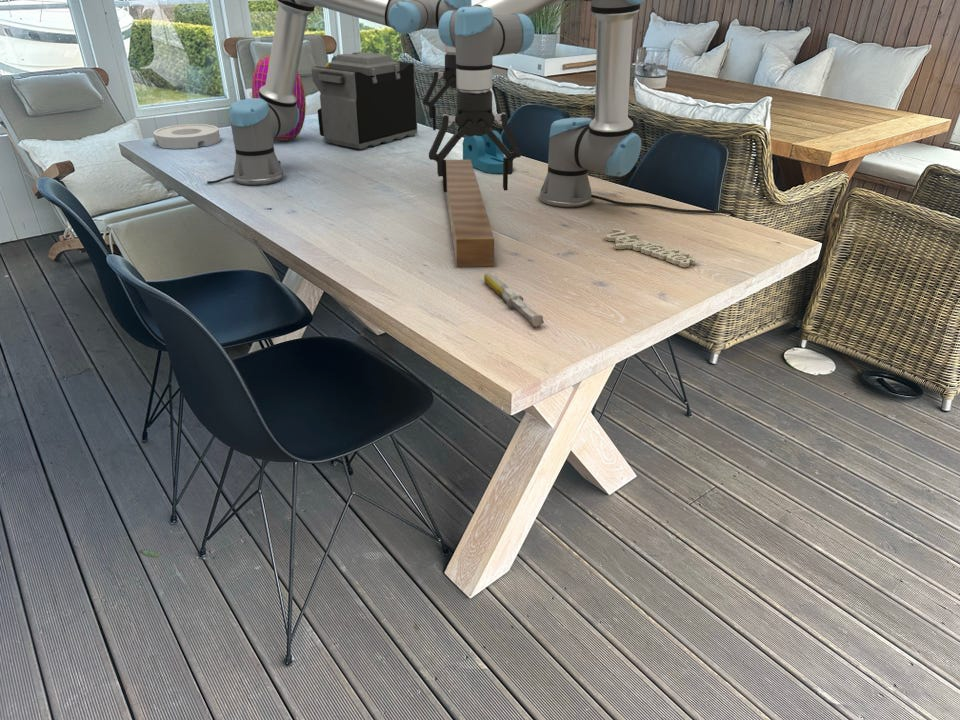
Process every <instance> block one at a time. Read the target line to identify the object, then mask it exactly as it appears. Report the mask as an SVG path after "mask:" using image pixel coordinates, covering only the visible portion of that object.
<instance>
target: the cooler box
mask: <svg viewBox="0 0 960 720" xmlns="http://www.w3.org/2000/svg"><path fill="white" fill-rule="evenodd" d="M335 56H336V58H335V60H334V61H332V62H331V61H330V62H328V63H329V68H326V66H325V67H324V66H312V67H311V77H312V83H314V85H315V87H316V89H317V90H318V92H319V101H320V108H319V109H317V119H318V120H317V121H318V128H319V136H321V137H323V139H324V142H325V143H328V144H332V145H336V146H337V145H338V146H342V147H347V148H351V149H356V150H365V149H367V148H368V147H370V146H371V147H376V146H379V145H380V144H381V143H384V144H387V143H391V142H393V141H394V140H401V139H402V140H403V139H404V138H405V137H414V136H415V135H416V134H417V133H418V108H417V107H418V103H417V88H416V73H415V70H416V69H415V63H414V62H408V61H400V60H394V59H393V57H392V55H391V54H384V53H374V52H365V51H356V52H352V53H341V54H336V55H335Z"/></svg>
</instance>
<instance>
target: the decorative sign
mask: <svg viewBox="0 0 960 720" xmlns="http://www.w3.org/2000/svg"><path fill="white" fill-rule="evenodd" d="M611 230H612V231H611V233H608V234H606V236H605V240H606V241H608V242H614V243H615V244H614V249H615V250H623V249H624V250H625V249H628V250H631V249H632V250H633V251H637V252H640V253H642V254H645V255H649V256H651V257H653V258H658V259H659V260H665V262H666V263H671V264H673V265H678V266H679V267H681V268H689V267H690V264H691V265H693V266H695V265H696V258H692V257H690V253H689V252H687V251H685V252H683V251H682V252H680V249H679V248H672V249H665V248H664V246H663V245H661V244H660V243H654V242H652V241H649V242H643V241H641V240H638V234H637V233H628V234H626V231H625V230H623V229H619V228H612V229H611Z"/></svg>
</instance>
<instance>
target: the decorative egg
mask: <svg viewBox="0 0 960 720" xmlns="http://www.w3.org/2000/svg"><path fill="white" fill-rule="evenodd" d="M270 55H271V54H268V55H265V56H262V57H261V58H260V59H259V60H258V61H257V62H256V65H255V68H254V69H253V70H254V71H253V73H252V77H251V98H258V96H259V90H260V88H261V87H262V86H264V85H266V79H267V73H268V67H269V61H270ZM293 93H294V95H295V96H296V98H297V103H296V104H297V108H298V109H299V121H298V124H297V126H296V127H295V128H294V129H293V130H292V131H290V132H289V133H287V134H285V135H282V136H279V137H277V138H274V139H273V140H275V141H282V142H286V141H291V140H293V139H296V138H297V137H298V136H299V134H301V131H302V129H303V127H304V123H305V118H306V104H307V103H306V102H307V101H306V99H307V97H306V93H305V88H304V84H303V81H302V77H301V75H300V73H299V71H298V70H297V76H296V81H295V86H294V92H293Z"/></svg>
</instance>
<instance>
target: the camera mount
mask: <svg viewBox="0 0 960 720" xmlns="http://www.w3.org/2000/svg"><path fill="white" fill-rule="evenodd" d="M493 132H494V133H495V134H496V135H497V137H498V138H499V139H500V140H501V141H502V143H503V144H504V142H503V138H502V135H501V134H500V132H499V131H497V130H493ZM503 158H507V157H506V156H505V155H504V154H503V153H502V152H501V150H500V149H499V148H498V147H497V146H496V144H495V143H494V142H493V141H492V140H491V138H490V137H489V136H488V135H487V134H484V135H482V136H476V135H475V136H469V137H468V136H467V135H465V136H463V140H462V160H471V162H472V165H473V169H477V170H479V171H482V172H483V173H487V174H503Z"/></svg>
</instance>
